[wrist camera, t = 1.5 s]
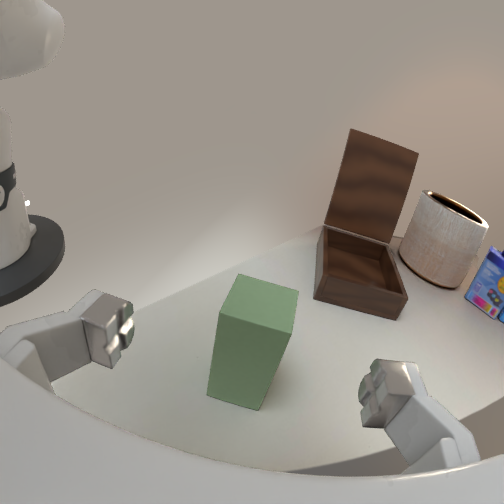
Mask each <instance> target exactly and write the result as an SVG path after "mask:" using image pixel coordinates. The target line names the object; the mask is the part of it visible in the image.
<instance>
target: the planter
mask: <svg viewBox="0 0 504 504" xmlns="http://www.w3.org/2000/svg"><path fill="white" fill-rule="evenodd" d="M487 229H488V225H487V223H486V222H485V221H484V220H483V219H481V218H480V217H479V216H478V215H476V214H475V213H474V212H472V211H471V210H469V209H467V208H466V207H464V206H463V205H461V204H459V203H457V202H455V201H453V200H451V199H449V198H447V197H445V196H443V195H441V194H438V193H435V192H433V191H429V190H423V191H422V194H421V197H420V199H419V202H418V204H417V207H416V210H415V212H414V214H413V217H412V219H411V222H410V224H409V226H408V229H407V231H406V233H405V235H404V238H403V240H402V242H401V245H400V248H399V253H400V255H401V257H402V259H403V261H404V262H405V263H406V265H407V266H408V267H409V268H410V269H411V270H413V271H414V272H415V273H416V274H418V275H419V276H420V277H422V278H424V279H425V280H427V281H429V282H431V283H433V284H435V285H438V286H441V287H446V288H454V287H458V286H459V285H460V284H461V283H462V281H463V279H464V277H465V276H466V274H467V272H468V270H469V268H470V266H471V264H472V262H473V260H474V258H475V256H476V253H477V251H478V249H479V247H480V245H481V243H482V241H483V238H484V236H485V234H486V232H487Z"/></svg>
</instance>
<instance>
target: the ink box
mask: <svg viewBox="0 0 504 504" xmlns="http://www.w3.org/2000/svg"><path fill="white" fill-rule="evenodd" d="M498 316H499V319H500V321H502V322H504V306H503V308H502V309H501V311H500V312H499V314H498Z"/></svg>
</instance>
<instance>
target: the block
mask: <svg viewBox="0 0 504 504" xmlns="http://www.w3.org/2000/svg"><path fill="white" fill-rule="evenodd" d="M298 293H299V291H297V290H294V289H290V288H287V287H283V286H280V285H276V284H273V283H269V282H266V281H262V280H259V279H255V278H252V277H248V276H245V275H242V274H238V276H237V278H236V280H235V282H234V284H233V286H232V288H231V290H230V292H229V294H228V296H227V298H226V300H225V302H224V304H223V306H222V308H221V310H220V312H219V318H218V324H217V330H216V336H215V343H214V349H213V355H212V362H211V369H210V375H209V382H208V389H207V395H208V396H211V397H214V398H217V399H220V400H223V401H226V402H229V403H233V404H236V405H239V406H243V407H246V408H250V409H254V410H257V411H258V410H259V407H260V405H261V403H262V401H263V399H264V397H265V394H266V392H267V390H268V388H269V386H270V383H271V381H272V379H273V377H274V374H275V372H276V370H277V368H278V365H279V363H280V361H281V358H282V356H283V354H284V351H285V349H286V346H287V344H288V342H289V339H290V337H291V334H292V330H293V324H294V318H295V312H296V306H297V300H298Z"/></svg>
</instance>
